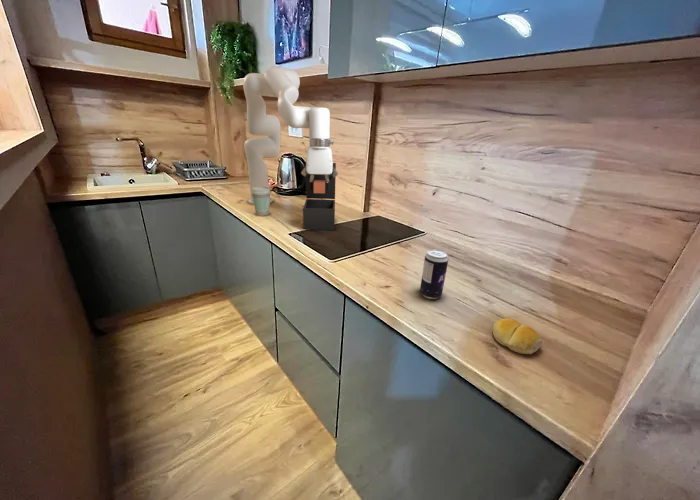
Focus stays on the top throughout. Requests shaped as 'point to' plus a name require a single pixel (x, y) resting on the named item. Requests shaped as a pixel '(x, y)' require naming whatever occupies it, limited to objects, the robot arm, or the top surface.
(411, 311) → the top surface
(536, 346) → the bread roll
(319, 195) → the lid
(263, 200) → the coffee cup
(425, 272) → the beverage can
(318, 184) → the block
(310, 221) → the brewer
